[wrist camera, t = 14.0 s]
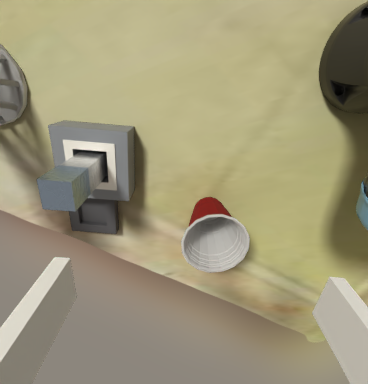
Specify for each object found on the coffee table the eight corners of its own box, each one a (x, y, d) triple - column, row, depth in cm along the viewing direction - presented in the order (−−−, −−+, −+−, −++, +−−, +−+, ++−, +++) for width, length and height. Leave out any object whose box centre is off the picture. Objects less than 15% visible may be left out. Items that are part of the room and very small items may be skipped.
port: (64, 120, 39) (46, 125, 34) (134, 126, 39) (126, 132, 35) (73, 184, 44) (59, 196, 39) (134, 189, 45) (128, 202, 40)
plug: (87, 146, 40) (36, 179, 26) (110, 148, 40) (71, 182, 27) (89, 168, 42) (42, 209, 28) (111, 170, 42) (75, 211, 28)
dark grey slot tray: (70, 186, 44) (65, 190, 43) (117, 190, 45) (114, 194, 43) (76, 225, 48) (71, 230, 47) (118, 228, 49) (116, 233, 47)
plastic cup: (246, 200, 45) (265, 237, 34) (216, 238, 49) (224, 282, 39) (200, 174, 43) (205, 204, 32) (172, 216, 47) (168, 255, 36)
